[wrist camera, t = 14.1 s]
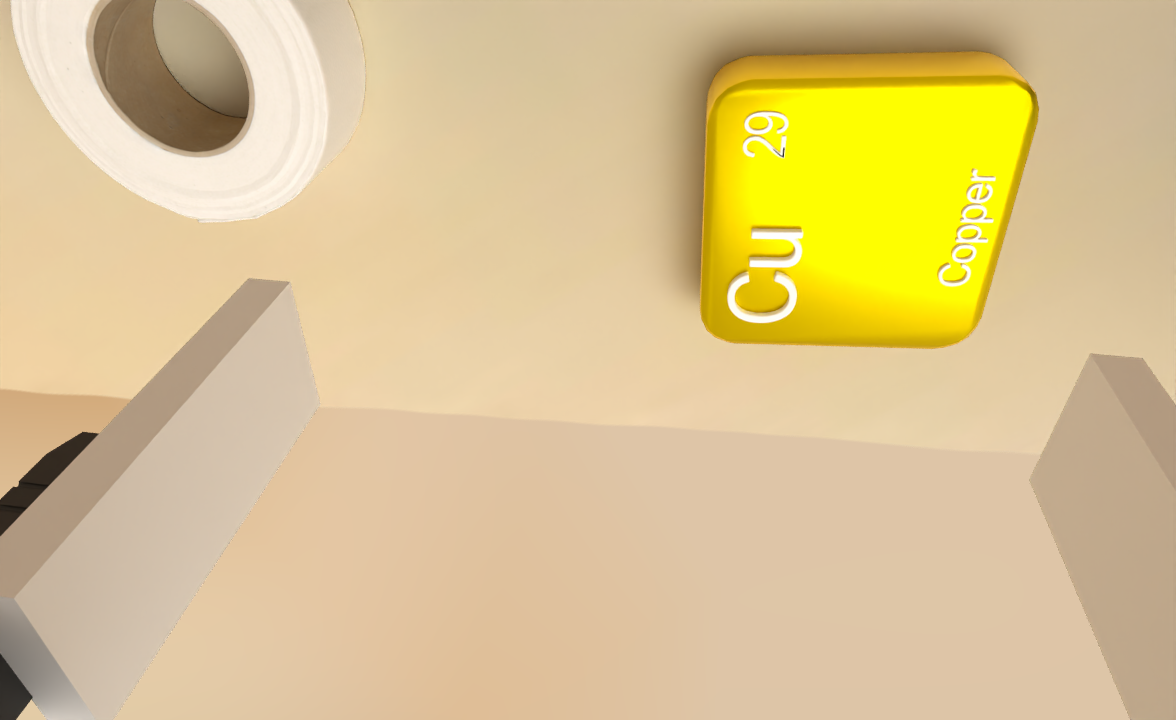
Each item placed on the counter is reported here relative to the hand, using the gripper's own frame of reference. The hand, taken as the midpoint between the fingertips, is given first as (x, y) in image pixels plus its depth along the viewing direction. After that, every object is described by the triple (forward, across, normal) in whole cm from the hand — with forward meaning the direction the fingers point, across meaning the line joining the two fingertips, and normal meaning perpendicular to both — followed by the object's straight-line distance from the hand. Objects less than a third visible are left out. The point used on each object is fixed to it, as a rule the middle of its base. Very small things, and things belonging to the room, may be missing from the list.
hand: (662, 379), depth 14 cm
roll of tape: (+30, +26, +4) cm, 40 cm away
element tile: (+31, -8, +10) cm, 34 cm away
